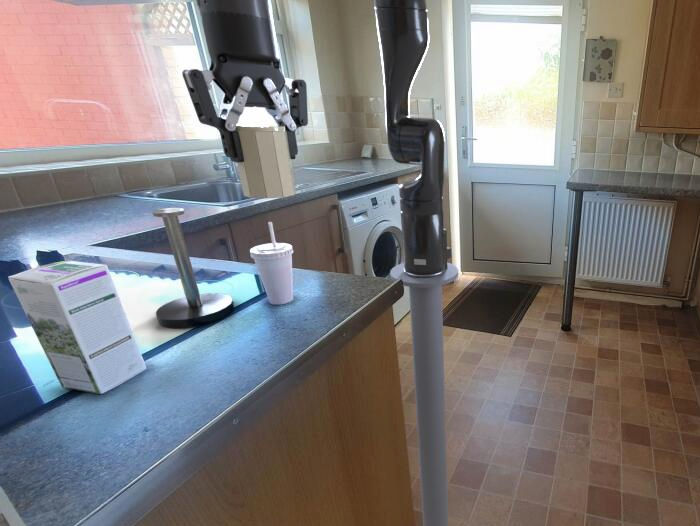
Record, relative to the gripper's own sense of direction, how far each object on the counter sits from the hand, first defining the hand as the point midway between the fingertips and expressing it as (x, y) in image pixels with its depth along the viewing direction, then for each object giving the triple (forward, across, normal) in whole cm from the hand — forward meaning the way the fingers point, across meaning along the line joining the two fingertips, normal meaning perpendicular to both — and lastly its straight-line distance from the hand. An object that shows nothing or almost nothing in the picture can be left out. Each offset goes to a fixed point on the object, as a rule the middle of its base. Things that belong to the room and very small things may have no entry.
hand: (264, 159), depth 56 cm
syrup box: (+25, -22, +4) cm, 34 cm away
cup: (+5, 0, 0) cm, 5 cm away
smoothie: (+25, +3, +10) cm, 27 cm away
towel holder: (+25, -8, +15) cm, 30 cm away
